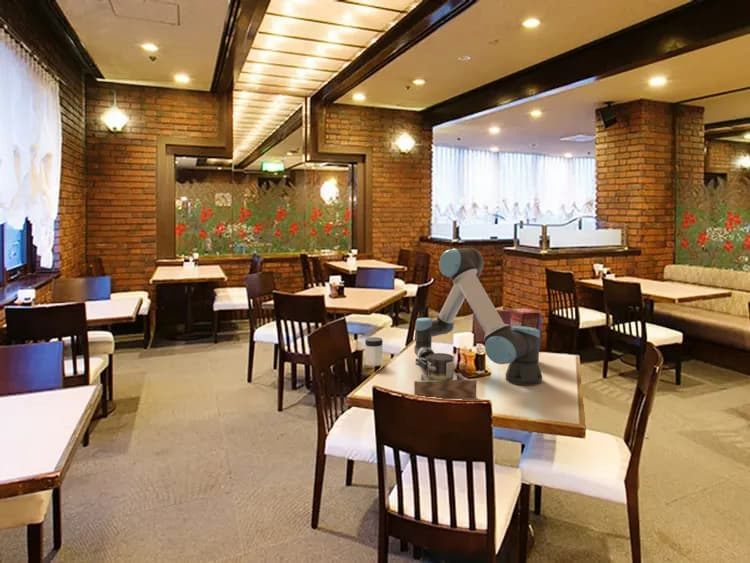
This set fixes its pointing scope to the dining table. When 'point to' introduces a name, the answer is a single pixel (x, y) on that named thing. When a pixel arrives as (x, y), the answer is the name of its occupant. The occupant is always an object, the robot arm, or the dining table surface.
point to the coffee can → (440, 366)
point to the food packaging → (524, 318)
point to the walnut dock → (446, 387)
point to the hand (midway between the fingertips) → (436, 372)
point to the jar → (374, 351)
